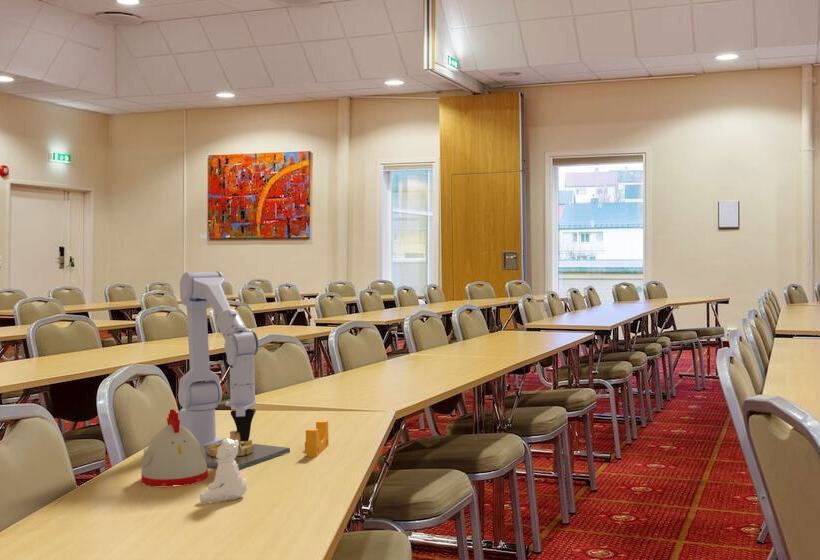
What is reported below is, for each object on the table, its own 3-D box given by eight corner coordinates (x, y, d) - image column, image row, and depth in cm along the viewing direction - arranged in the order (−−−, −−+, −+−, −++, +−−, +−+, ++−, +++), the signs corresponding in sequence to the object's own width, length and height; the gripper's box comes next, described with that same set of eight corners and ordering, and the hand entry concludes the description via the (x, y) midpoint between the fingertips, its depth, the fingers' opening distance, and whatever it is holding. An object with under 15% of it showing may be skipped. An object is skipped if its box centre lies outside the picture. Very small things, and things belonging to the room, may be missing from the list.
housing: (169, 461, 214) (168, 444, 214) (225, 444, 231) (225, 428, 231) (236, 470, 204) (236, 452, 204) (289, 451, 222) (289, 435, 222)
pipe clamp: (311, 446, 229) (311, 420, 229) (328, 446, 228) (328, 420, 228) (299, 457, 217) (298, 430, 217) (316, 457, 216) (316, 430, 216)
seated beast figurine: (210, 491, 188) (208, 433, 187) (251, 490, 187) (250, 432, 187) (198, 504, 178) (196, 443, 178) (242, 504, 178) (240, 442, 177)
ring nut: (221, 446, 224) (220, 422, 224) (260, 447, 221) (259, 424, 221) (199, 455, 214) (199, 431, 214) (240, 458, 211) (239, 433, 211)
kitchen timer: (148, 490, 189) (146, 418, 189) (135, 476, 201) (133, 408, 201) (215, 481, 196) (213, 411, 195) (198, 468, 208) (196, 402, 207)
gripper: (228, 378, 220) (229, 434, 221) (221, 389, 206) (223, 448, 207) (257, 377, 221) (259, 433, 222) (253, 388, 207) (254, 447, 207)
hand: (243, 440), depth 214 cm, fingers closed, pressing on ring nut
